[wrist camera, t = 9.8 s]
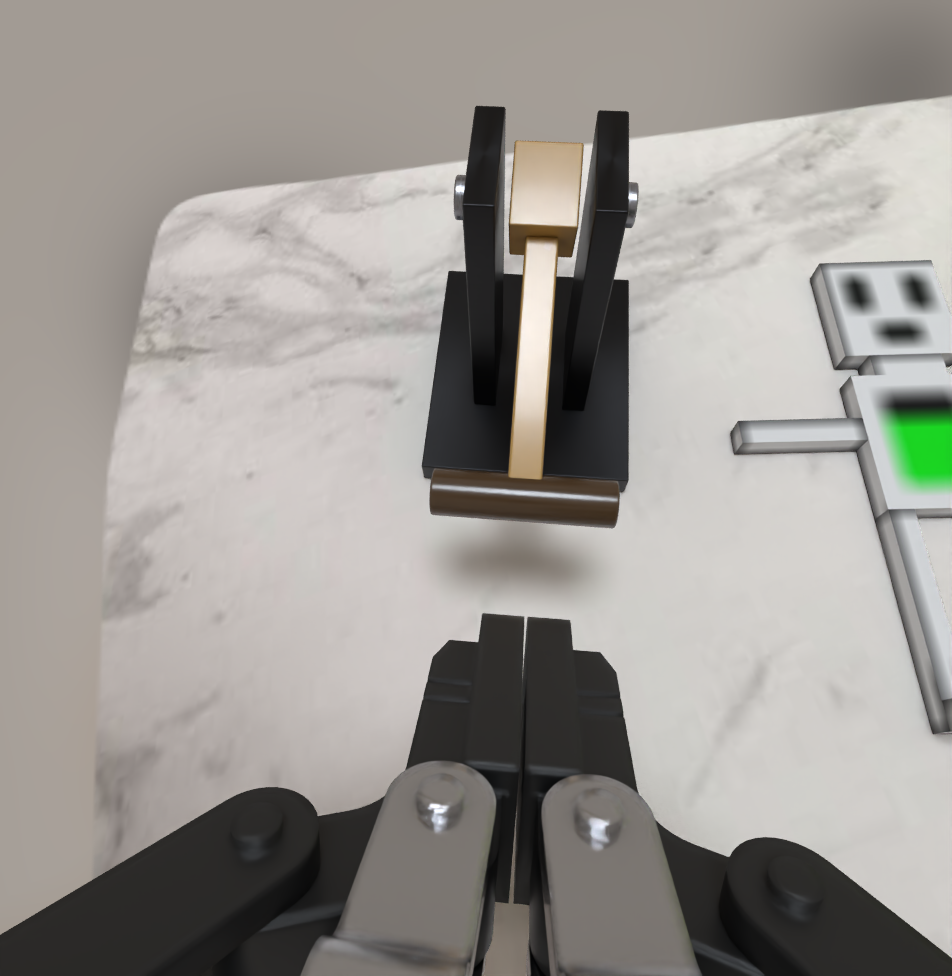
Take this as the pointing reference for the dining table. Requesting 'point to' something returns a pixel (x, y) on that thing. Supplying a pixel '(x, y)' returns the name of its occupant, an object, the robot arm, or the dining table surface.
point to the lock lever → (533, 360)
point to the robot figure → (889, 434)
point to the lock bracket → (576, 324)
